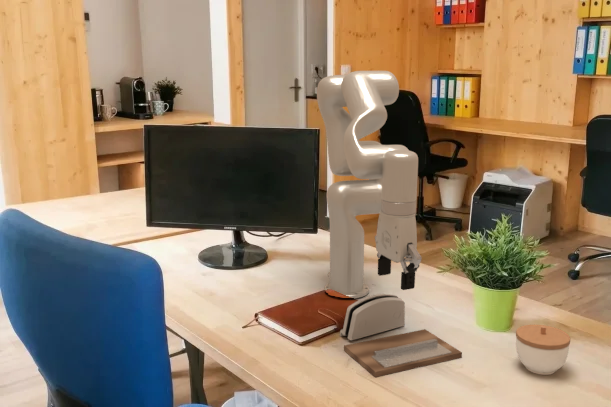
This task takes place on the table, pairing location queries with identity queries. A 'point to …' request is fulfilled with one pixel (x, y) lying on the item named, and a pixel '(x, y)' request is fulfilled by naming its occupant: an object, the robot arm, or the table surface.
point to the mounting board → (367, 348)
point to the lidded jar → (542, 348)
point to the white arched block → (373, 316)
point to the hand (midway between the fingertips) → (395, 281)
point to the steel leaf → (409, 353)
